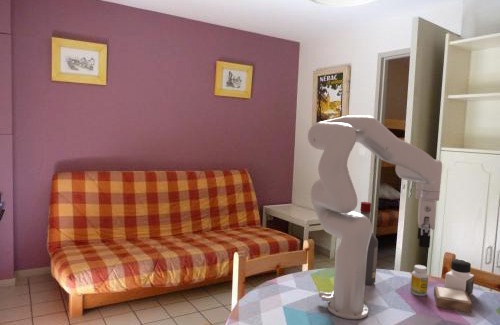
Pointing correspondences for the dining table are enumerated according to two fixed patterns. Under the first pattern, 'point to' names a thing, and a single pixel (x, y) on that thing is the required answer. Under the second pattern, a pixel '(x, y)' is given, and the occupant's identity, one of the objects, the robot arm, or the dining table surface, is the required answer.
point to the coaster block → (452, 299)
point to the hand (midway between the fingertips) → (423, 242)
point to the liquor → (370, 249)
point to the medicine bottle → (460, 276)
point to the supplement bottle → (419, 280)
